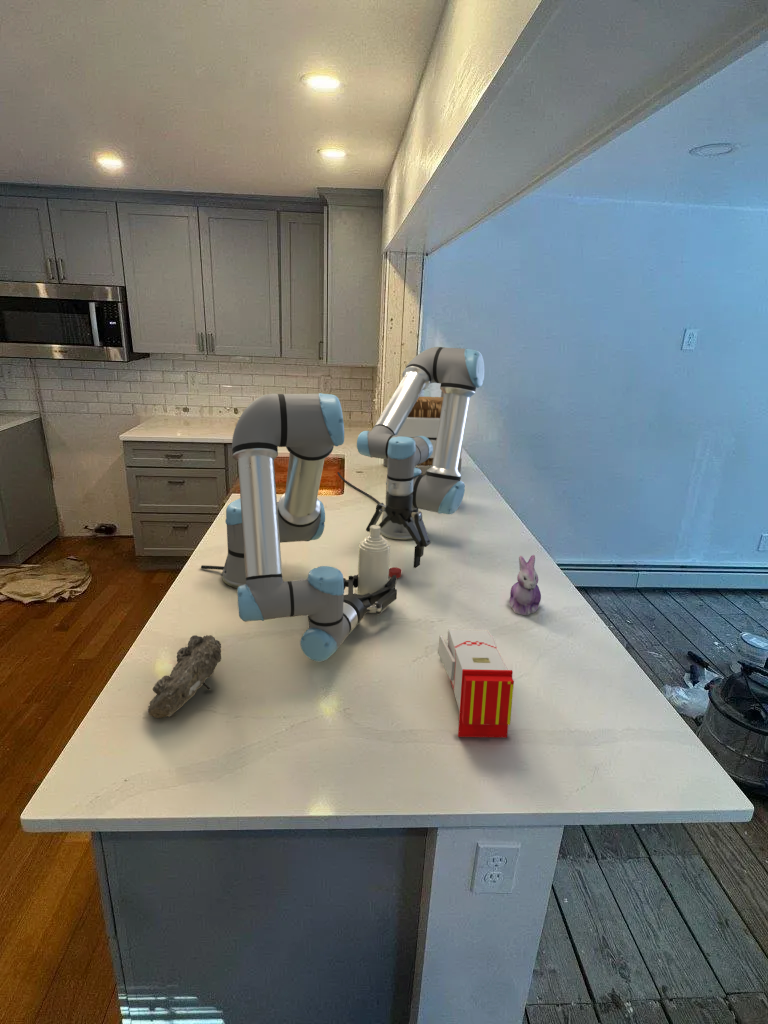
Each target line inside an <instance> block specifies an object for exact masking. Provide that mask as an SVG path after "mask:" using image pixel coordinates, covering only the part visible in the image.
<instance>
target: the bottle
mask: <svg viewBox="0 0 768 1024" xmlns="http://www.w3.org/2000/svg"><path fill="white" fill-rule="evenodd" d="M380 529H381V528H380V526H379V524H378V525H377V524H376V525H371V526H370V532H369V534H368V535H366V536H365V537H364V538H363V539H361V540H360V542H359V543H358V556H357V557H358V559H357V561H358V562H357V575H358V587H357V593H356V594H359V595H365V594H367V593H370V594H371V593H374V592H376V591H378V590H381V589H383V588H385V585H386V583H387V582H388V581H389V580H390V579H389V578H390V577H389V569H390V559H391V558H390V557H391V545H390V543H389V542H390V541H388V540H387V539H386V538H385V537H384V536H383V535H380ZM373 605H374V604H373ZM387 608H388V606H387V607H386V608H384V609H383V610H382V612H383V611H385V610H386V609H387ZM368 613H369V614H370V613H371V614H376V611H372V610H370V611H369V612H368Z"/></svg>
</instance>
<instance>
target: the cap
mask: <svg viewBox="0 0 768 1024" xmlns="http://www.w3.org/2000/svg"><path fill="white" fill-rule="evenodd" d="M393 575H396V579H399V578H400V579H401V577H402V569H401V568H400V567H397V566H395V567H394V566H393V567H389V578H390V579H391V578H392V576H393Z"/></svg>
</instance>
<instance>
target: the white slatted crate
mask: <svg viewBox="0 0 768 1024" xmlns="http://www.w3.org/2000/svg"><path fill="white" fill-rule="evenodd" d="M397 387H398V385H397V386H396V388H395V390H394V392H395V391H396V389H397ZM440 393H441V394H440V396H419V397H418V399H417V401H416V403H415V404H414V406H413V408H412V410H411V411H410V413H409V415H408V417H407V419H406V420H405V422H404V424H403V426H402V427H401V429H400V431H399V433H398V434H397V436H403V437H410V438H414V437H416V436H424V437H427V438H428V439H429V440H430V441H431V443H432V446H433V452H432V455H431V456H430V457H429V458H428V459H427V460H426V461H425V462H423V463H421V464H419V465H417V466H418V467H431V466H432V463H433V457H434V451H435V445H436V439H437V433H438V427H439V420H440V414H441V408H442V402H443V396H444V394H443V392H442V391H441V392H440ZM463 442H464V440H462V444H463ZM462 453H463V445H462V446H461V452H460V458H459V464H458V472H459V473H460V475H462V474H461V472H462V461H463V460H462ZM383 466H384V467H388V460H387V459H383ZM417 466H416V467H417Z"/></svg>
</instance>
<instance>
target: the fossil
mask: <svg viewBox="0 0 768 1024" xmlns="http://www.w3.org/2000/svg"><path fill="white" fill-rule="evenodd" d="M175 657H176V662H177V663H176V664H175V666H173V669H172V670H171V671H170V673H169V675H164V676H162V677H161V679H158V680H157V682H156V683H154V686H153V687H152V691H153V692H154V694H155V696H154V697H153V698H152V699H151V700H150V701H149V705H148V706H147V708H148V709H147V711H148V715H149V717H153V718H154V719H161V718H167V717H171V716H173V715H174V714H175V713H176V712H177V711H178V710H180V709H181V708H182V707H183V706H184V705H185V704H186V703H187V702H188V701H189V700H191V698H192V697H194V696H195V694H196V693H197V690H199V689H200V688H201V687H202V686H203V687H205V688H206V690H208V691H210V690H211V687H210V686H209V685H208V684H207V683H206V680H207V679H209V678H211V677H212V675H213V674H214V673H215V670H216V668H217V666H218V664H219V663H220V662H221V661H222V643H221V642H220V640H218V639H216V638H215V636H213V635H211V634H209V635H207V634H206V635H203V636H199V635H197V634H195V635H192V636H190V638H189V640H188V643H187V646H184V647H180V649H178V650H177V652H176V656H175Z"/></svg>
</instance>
